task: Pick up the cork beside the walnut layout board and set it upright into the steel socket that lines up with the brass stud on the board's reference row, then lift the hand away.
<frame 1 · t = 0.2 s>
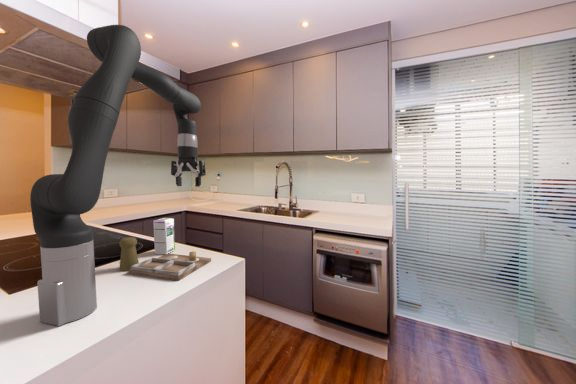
hand: (188, 186, 98), 29 cm above the counter, tool pointing down, fingers open, 8 cm apart
layout board: (172, 266, 87), on the counter
cork: (129, 268, 86), on the counter
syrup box: (165, 252, 104), on the counter
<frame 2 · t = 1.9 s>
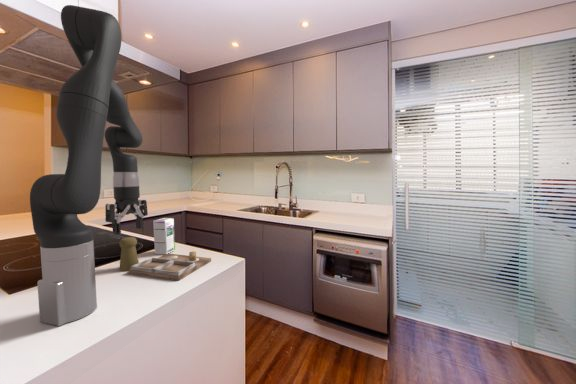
hand: (128, 231, 85), 13 cm above the counter, tool pointing down, fingers open, 8 cm apart
nothing on the counter moved.
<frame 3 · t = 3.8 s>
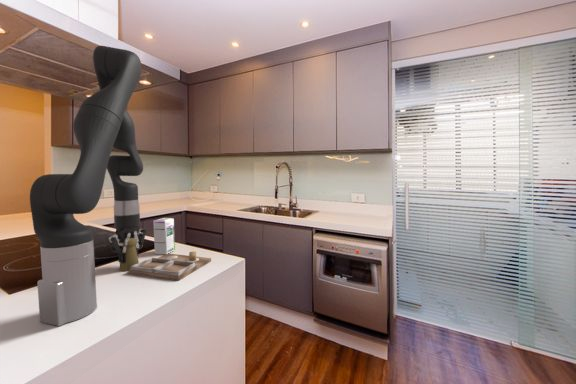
hand: (129, 260, 86), 3 cm above the counter, tool pointing down, fingers closed on cork, 4 cm apart
cork: (129, 268, 86), on the counter, touching gripper
everything else where it was.
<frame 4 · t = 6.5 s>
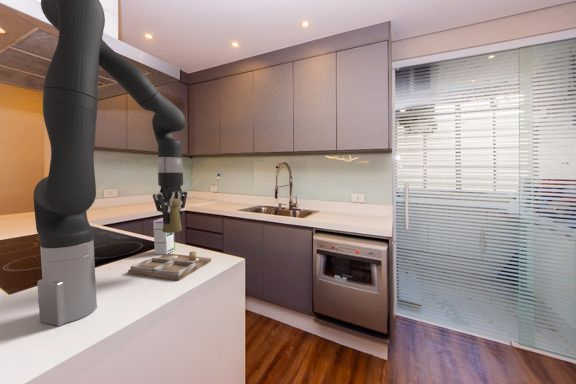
hand: (172, 222, 81), 17 cm above the counter, tool pointing down, fingers closed on cork, 4 cm apart
cork: (172, 231, 81), point 14 cm above the counter, touching gripper
everything else where it was.
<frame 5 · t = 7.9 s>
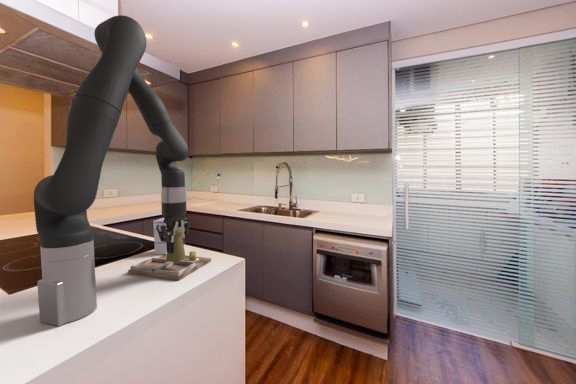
hand: (175, 250, 82), 8 cm above the counter, tool pointing down, fingers closed on cork, 4 cm apart
cork: (176, 259, 82), point 5 cm above the counter, touching gripper
everything else where it was.
when the fingers open (5 cm above the counter, at t = 9.1 s): cork drops 1 cm, resting on layout board.
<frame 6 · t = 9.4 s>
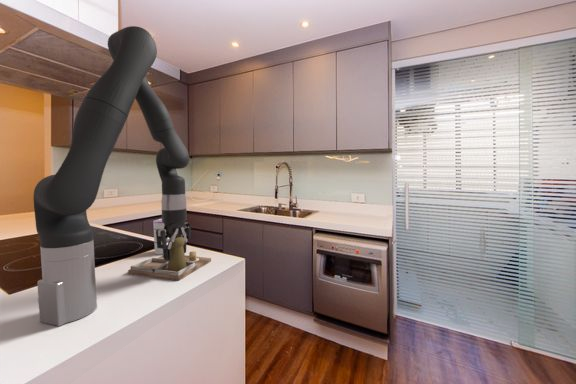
hand: (175, 256, 82), 6 cm above the counter, tool pointing down, fingers open, 6 cm apart
cork: (177, 269, 82), point 1 cm above the counter, touching layout board
everything else where it was.
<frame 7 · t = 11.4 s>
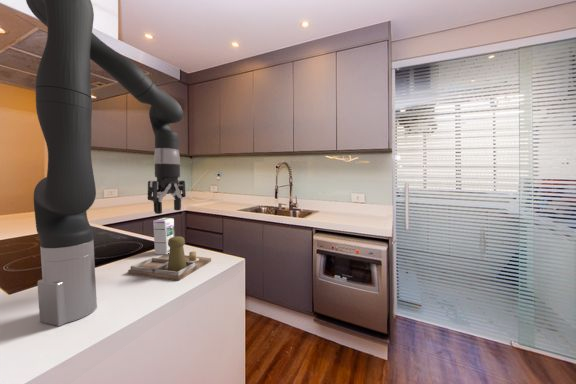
hand: (168, 211, 81), 21 cm above the counter, tool pointing down, fingers open, 8 cm apart
nothing on the counter moved.
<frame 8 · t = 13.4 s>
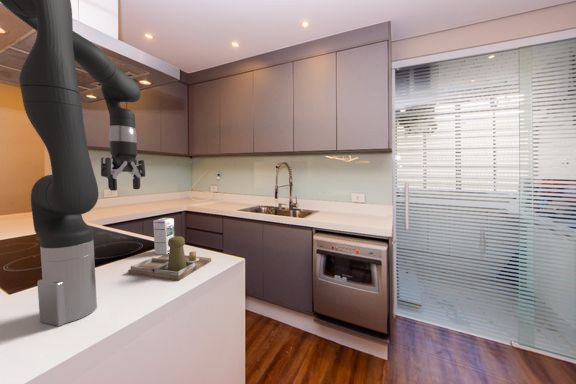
hand: (125, 189, 82), 28 cm above the counter, tool pointing down, fingers open, 8 cm apart
nothing on the counter moved.
at the end: cork 0.5 cm from the target spot, point 1.0 cm above the counter; cork tilted 0°; the gripper is holding nothing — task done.
